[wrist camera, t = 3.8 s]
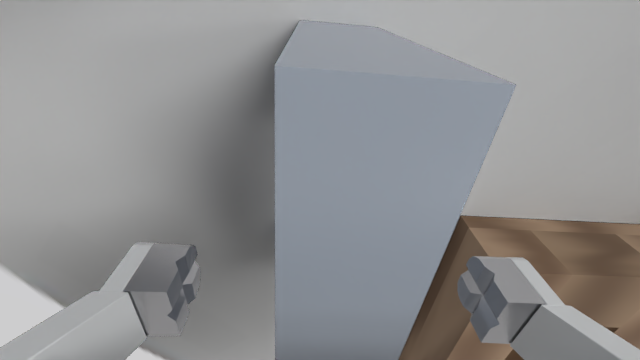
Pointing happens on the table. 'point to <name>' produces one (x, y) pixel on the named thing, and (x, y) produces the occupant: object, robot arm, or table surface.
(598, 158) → the table surface
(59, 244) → the table surface
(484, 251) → the slot rail
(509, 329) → the robot arm
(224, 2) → the table surface
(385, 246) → the grey arch-shaped block
